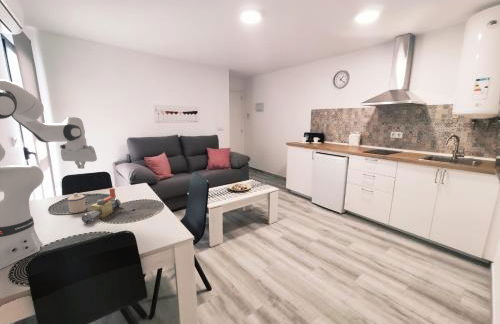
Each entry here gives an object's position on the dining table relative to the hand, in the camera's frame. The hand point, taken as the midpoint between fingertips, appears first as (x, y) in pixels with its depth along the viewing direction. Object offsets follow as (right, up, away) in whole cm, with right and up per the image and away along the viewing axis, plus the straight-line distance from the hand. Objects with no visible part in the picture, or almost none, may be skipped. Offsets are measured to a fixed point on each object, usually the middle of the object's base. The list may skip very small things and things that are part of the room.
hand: (81, 168), depth 130 cm
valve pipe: (+10, -29, +5) cm, 31 cm away
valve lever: (+10, -20, +7) cm, 24 cm away
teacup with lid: (-11, -28, +11) cm, 32 cm away
